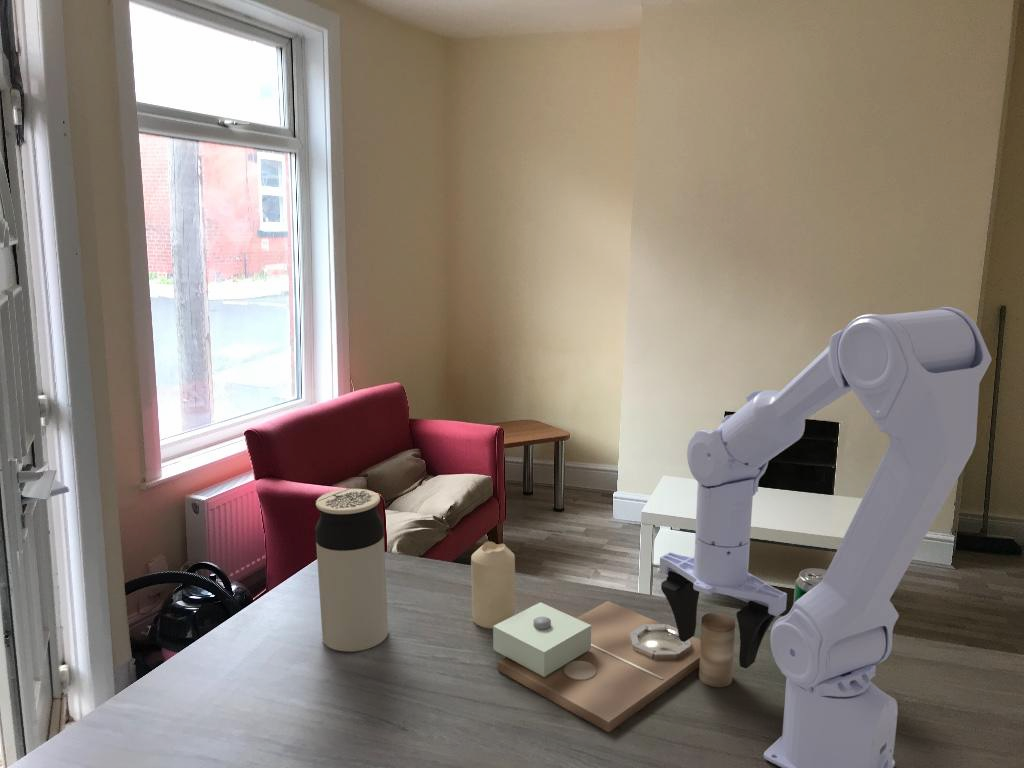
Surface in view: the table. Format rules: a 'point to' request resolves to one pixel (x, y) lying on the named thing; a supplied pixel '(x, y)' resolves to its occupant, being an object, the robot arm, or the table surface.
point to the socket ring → (659, 641)
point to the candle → (492, 584)
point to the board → (608, 671)
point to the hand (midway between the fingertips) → (716, 650)
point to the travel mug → (351, 570)
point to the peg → (716, 649)
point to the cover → (542, 638)
